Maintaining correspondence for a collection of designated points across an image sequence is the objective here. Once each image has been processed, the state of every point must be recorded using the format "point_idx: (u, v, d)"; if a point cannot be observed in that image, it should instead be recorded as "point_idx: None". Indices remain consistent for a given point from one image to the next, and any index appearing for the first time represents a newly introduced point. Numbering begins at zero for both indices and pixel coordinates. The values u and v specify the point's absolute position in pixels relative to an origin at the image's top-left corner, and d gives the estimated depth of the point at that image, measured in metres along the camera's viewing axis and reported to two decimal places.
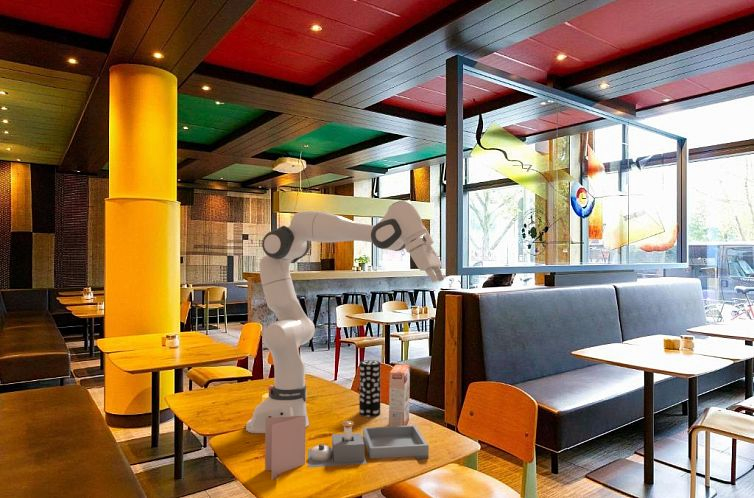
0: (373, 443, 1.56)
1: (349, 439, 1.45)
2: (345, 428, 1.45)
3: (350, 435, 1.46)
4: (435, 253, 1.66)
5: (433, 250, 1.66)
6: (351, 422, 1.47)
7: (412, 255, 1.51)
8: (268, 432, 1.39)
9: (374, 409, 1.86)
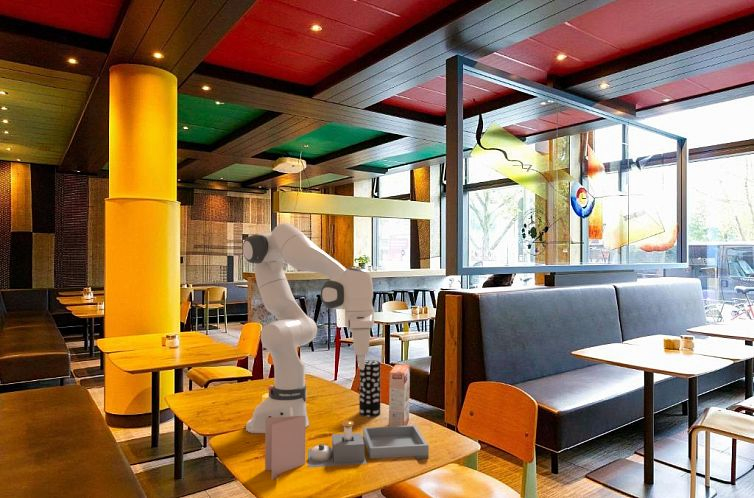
0: (373, 443, 1.56)
1: (349, 439, 1.45)
2: (345, 428, 1.45)
3: (350, 435, 1.46)
4: None
5: None
6: (351, 422, 1.46)
7: (355, 335, 1.37)
8: (268, 432, 1.39)
9: (374, 409, 1.86)
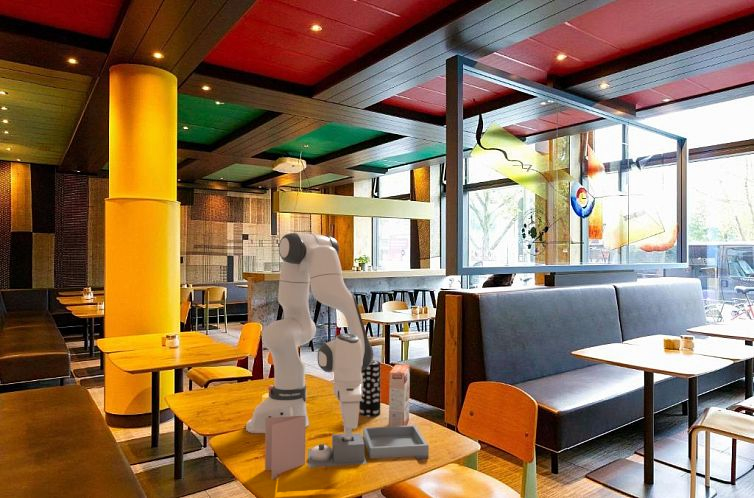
0: (373, 443, 1.56)
1: (349, 439, 1.45)
2: None
3: None
4: None
5: None
6: None
7: (344, 409, 1.37)
8: (268, 432, 1.39)
9: (374, 409, 1.86)
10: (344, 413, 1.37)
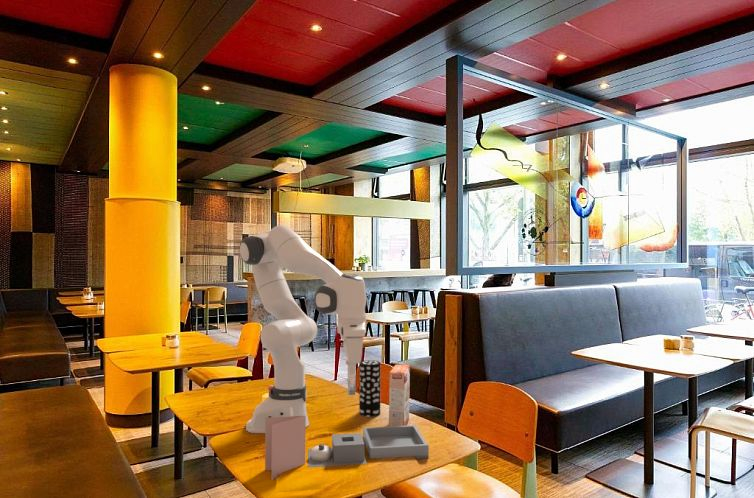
0: (373, 443, 1.56)
1: (353, 377, 1.46)
2: None
3: None
4: None
5: None
6: None
7: (348, 344, 1.38)
8: (268, 432, 1.39)
9: (374, 409, 1.86)
10: (348, 347, 1.38)
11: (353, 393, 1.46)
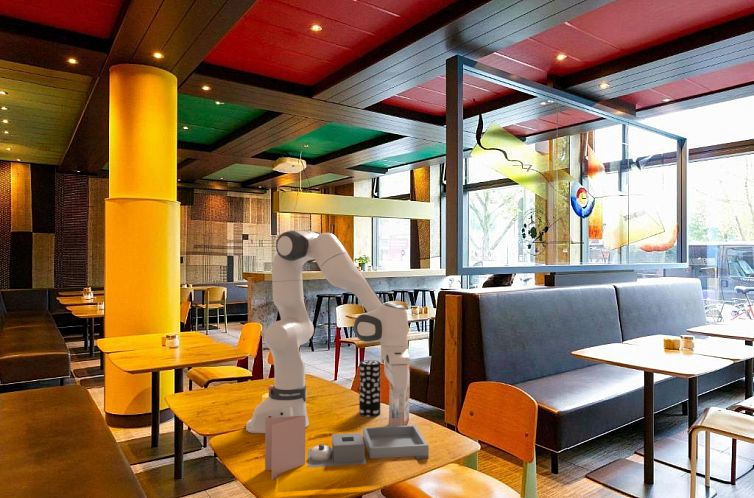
0: (373, 443, 1.56)
1: (396, 401, 1.54)
2: (392, 391, 1.54)
3: None
4: None
5: None
6: None
7: (394, 371, 1.45)
8: (268, 432, 1.39)
9: (374, 409, 1.86)
10: (394, 374, 1.45)
11: (397, 416, 1.54)
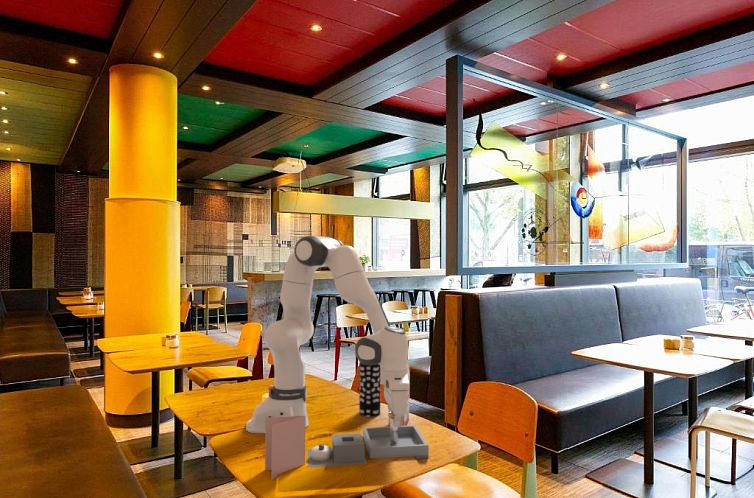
0: (373, 443, 1.56)
1: (395, 429, 1.53)
2: (391, 419, 1.54)
3: None
4: None
5: None
6: None
7: (394, 397, 1.45)
8: (268, 432, 1.39)
9: (374, 409, 1.86)
10: (394, 400, 1.45)
11: (396, 445, 1.53)
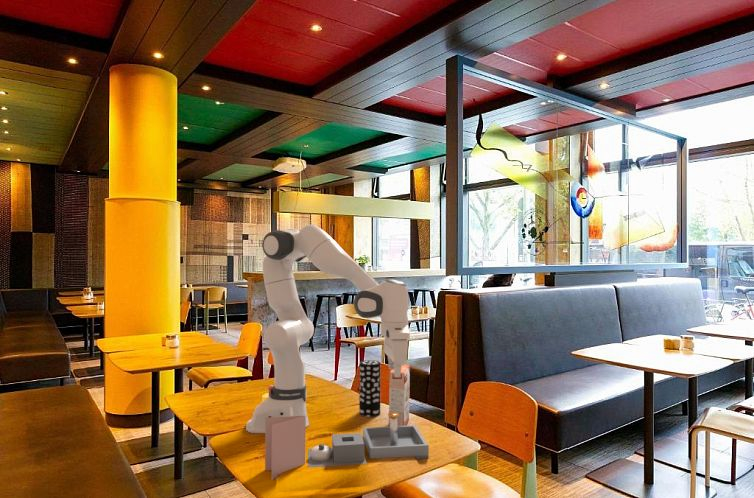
0: (373, 443, 1.56)
1: (395, 429, 1.53)
2: (391, 419, 1.54)
3: (396, 426, 1.54)
4: None
5: None
6: (396, 413, 1.55)
7: (394, 346, 1.46)
8: (268, 432, 1.39)
9: (374, 409, 1.86)
10: (394, 349, 1.45)
11: (396, 445, 1.53)
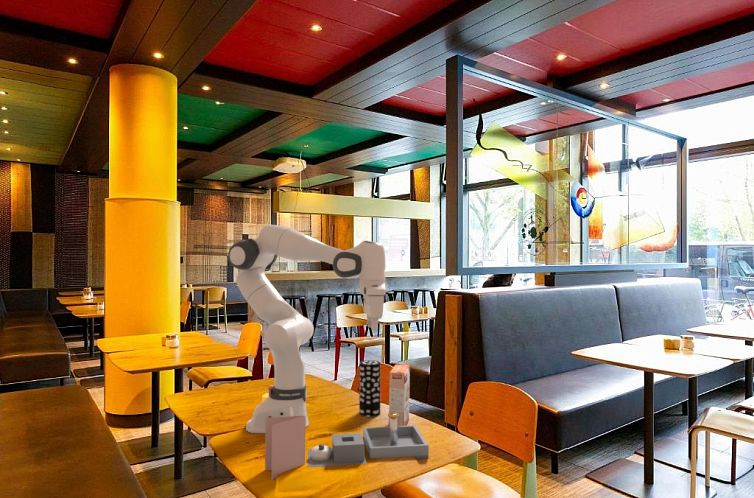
0: (373, 443, 1.56)
1: (395, 429, 1.53)
2: (391, 419, 1.54)
3: (396, 426, 1.54)
4: None
5: None
6: (396, 413, 1.55)
7: (371, 301, 1.54)
8: (268, 432, 1.39)
9: (374, 409, 1.86)
10: (370, 304, 1.54)
11: (396, 445, 1.53)
